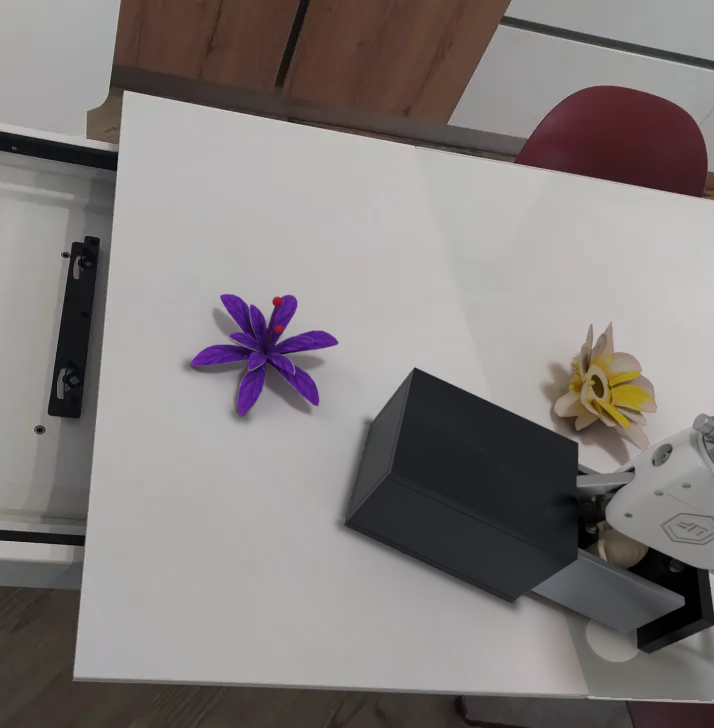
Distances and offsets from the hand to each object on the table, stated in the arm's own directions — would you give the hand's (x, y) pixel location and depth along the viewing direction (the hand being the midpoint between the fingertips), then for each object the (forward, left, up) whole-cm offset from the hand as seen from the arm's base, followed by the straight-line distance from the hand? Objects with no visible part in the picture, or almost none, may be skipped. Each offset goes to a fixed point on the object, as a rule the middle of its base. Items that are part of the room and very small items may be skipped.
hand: (600, 557), depth 67 cm
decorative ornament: (0, 0, -1) cm, 1 cm away
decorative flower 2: (-2, -23, -4) cm, 23 cm away
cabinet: (+14, 0, -4) cm, 15 cm away
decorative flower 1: (+35, -8, -4) cm, 36 cm away
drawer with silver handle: (-3, 0, -3) cm, 4 cm away
